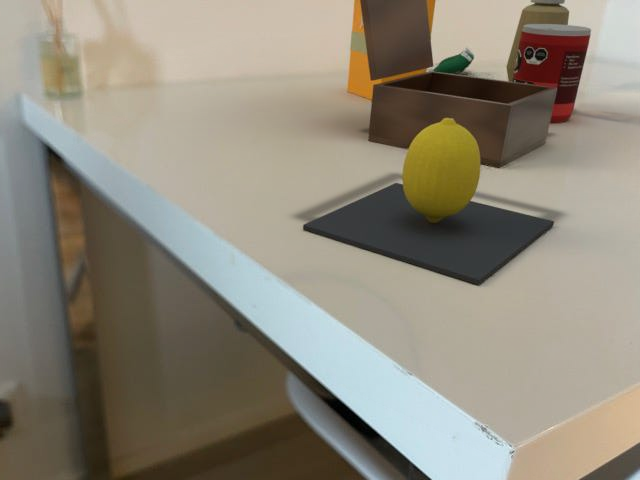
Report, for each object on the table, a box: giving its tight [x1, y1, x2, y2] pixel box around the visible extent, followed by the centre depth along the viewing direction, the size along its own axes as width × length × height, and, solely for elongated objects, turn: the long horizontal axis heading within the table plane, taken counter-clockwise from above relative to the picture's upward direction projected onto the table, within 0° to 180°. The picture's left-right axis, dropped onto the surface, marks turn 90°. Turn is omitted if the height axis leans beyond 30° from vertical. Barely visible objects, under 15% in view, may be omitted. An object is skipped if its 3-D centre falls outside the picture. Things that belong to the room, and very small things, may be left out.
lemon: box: [402, 118, 481, 223], centre depth 49 cm, size 6×6×8 cm
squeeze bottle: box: [506, 0, 570, 82], centre depth 98 cm, size 8×8×18 cm
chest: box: [367, 70, 557, 169], centre depth 73 cm, size 15×13×6 cm
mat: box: [302, 182, 555, 286], centre depth 51 cm, size 14×14×1 cm
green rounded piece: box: [432, 46, 475, 75], centre depth 115 cm, size 9×4×6 cm
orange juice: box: [346, 0, 436, 101], centre depth 94 cm, size 8×9×20 cm
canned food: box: [512, 24, 592, 123], centre depth 85 cm, size 8×8×11 cm
